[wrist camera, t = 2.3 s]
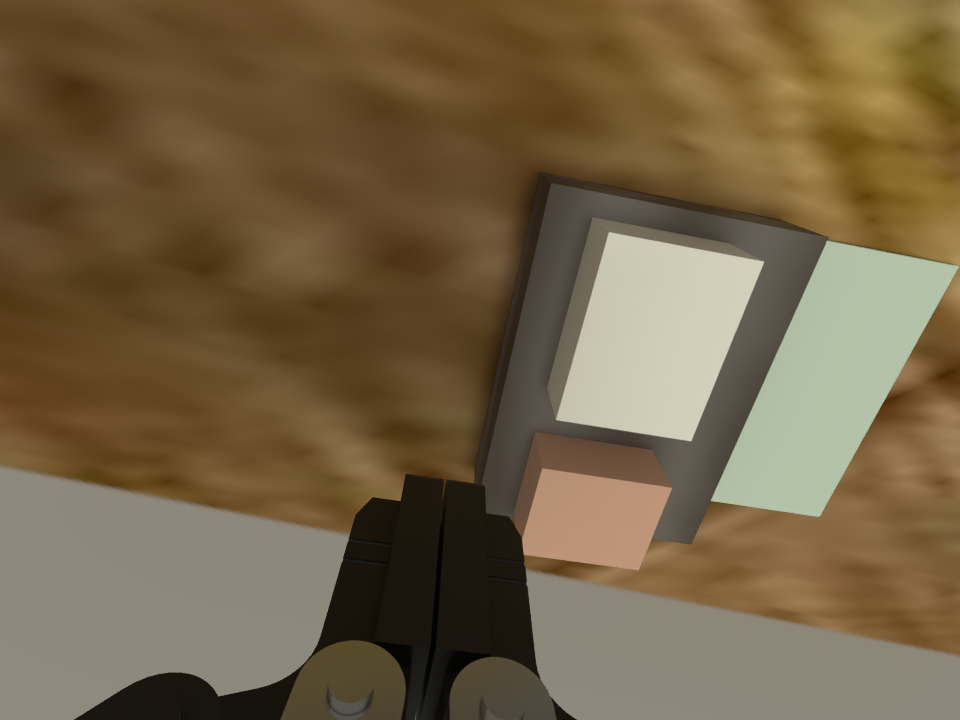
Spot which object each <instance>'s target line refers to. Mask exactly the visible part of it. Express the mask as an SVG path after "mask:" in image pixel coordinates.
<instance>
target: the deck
mask: <svg viewBox="0 0 960 720" xmlns="http://www.w3.org/2000/svg"><path fill="white" fill-rule="evenodd" d="M593 217H594V218H599V219H604V220H610V221H615V222H620V223H625V224H631V225H636V226H641V227H646V228H651V229H657V230H662V231H667V232H672V233H677V234H683V235H688V236H693V237H698V238H704V239H709V240H714V241H719V242H724V243H730V244H732V245H734V246H736V247H737V248H739V249H741V250H743V251H745V252H747V253H749V254H751V255H753V256H755V257H756V258H758V259H760V260H762V261H764V264H763V266H762V269H761V271H760V274H759V276H758V279H757V281H756V283H755V286H754V288H753V291H752V293H751V296H750V298H749V301H748V303H747V306H746V308H745V310H744V313H743V315H742V318H741V320H740V323H739V325H738V328H737V330H736V333H735V335H734V337H733V340H732V342H731V345H730V347H729V350H728V352H727V355H726V357H725V360H724V362H723V364H722V367H721V369H720V372H719V374H718V377H717V379H716V382H715V384H714V387H713V389H712V391H711V394H710V396H709V399H708V401H707V404H706V406H705V409H704V411H703V414H702V416H701V418H700V421H699V423H698V426H697V428H696V431H695V433H694V436H693V438H692V441H686V440H679V439H673V438H667V437H660V436H654V435H648V434H641V433H635V432H629V431H622V430H616V429H610V428H603V427H597V426H591V425H584V424H578V423H571V422H565V421H559V420H556V418H555V415H554V411H553V407H552V403H551V400H550V396H549V392H548V388H547V386H548V382H549V379H550V375H551V371H552V367H553V364H554V360H555V356H556V352H557V349H558V345H559V341H560V337H561V334H562V330H563V326H564V322H565V319H566V315H567V311H568V307H569V304H570V300H571V296H572V292H573V289H574V285H575V281H576V278H577V274H578V270H579V266H580V263H581V259H582V255H583V251H584V248H585V244H586V240H587V236H588V233H589V229H590V225H591V221H592V218H593ZM828 238H829V237H826V236H823V235H821V234H818V233H815V232H812V231H810V230H807V229H804V228H801V227H799V226H796V225H793V224H790V223H788V222H785V221H782V220H779V219H774V218H769V217H763V216H758V215H753V214H748V213H743V212H738V211H733V210H728V209H723V208H718V207H713V206H708V205H703V204H698V203H693V202H687V201H682V200H677V199H672V198H667V197H662V196H657V195H652V194H647V193H642V192H637V191H632V190H627V189H622V188H617V187H612V186H606V185H601V184H596V183H591V182H586V181H581V180H576V179H571V178H566V177H561V176H556V175H551V174H546V173H541V172H540V175H539V180H538V184H537V189H536V193H535V198H534V202H533V207H532V211H531V216H530V220H529V225H528V229H527V234H526V238H525V243H524V247H523V252H522V256H521V261H520V265H519V270H518V275H517V279H516V284H515V288H514V293H513V297H512V302H511V306H510V311H509V315H508V320H507V324H506V329H505V333H504V338H503V342H502V347H501V351H500V356H499V360H498V365H497V369H496V374H495V379H494V383H493V388H492V392H491V397H490V401H489V406H488V410H487V415H486V419H485V424H484V428H483V433H482V437H481V442H480V446H479V451H478V455H477V460H476V464H475V484H481V485H484V486H485V496H486V513H488V514H495V515H502V516H509V518H510V519H513V520H515V518H514V510H515V506H516V502H517V498H518V495H519V491H520V487H521V483H522V480H523V476H524V472H525V468H526V465H527V461H528V457H529V453H530V450H531V446H532V442H533V438H534V435H535V432H539V433H545V434H552V435H558V436H565V437H571V438H578V439H584V440H590V441H597V442H603V443H610V444H616V445H623V446H629V447H636V448H642V449H648V450H653V452H654V454H655V456H656V458H657V460H658V462H659V464H660V465H661V467H662V469H663V471H664V473H665V475H666V477H667V479H668V481H669V483H670V484H671V486H672V490H671V492H670V495H669V497H668V500H667V502H666V504H665V507H664V509H663V512H662V514H661V517H660V519H659V522H658V524H657V527H656V529H655V531H654V534H653V536H652V539H655V540H662V541H670V542H677V543H684V544H692V542H693V539H694V537H695V535H696V533H697V530H698V528H699V526H700V524H701V521H702V519H703V517H704V515H705V513H706V510H707V508H708V506H709V504H710V501H711V499H712V497H713V495H714V492H715V490H716V488H717V486H718V484H719V481H720V479H721V477H722V475H723V472H724V470H725V468H726V466H727V463H728V461H729V459H730V457H731V455H732V452H733V450H734V448H735V446H736V443H737V441H738V439H739V437H740V434H741V432H742V430H743V428H744V425H745V423H746V421H747V419H748V417H749V414H750V412H751V410H752V408H753V405H754V403H755V401H756V399H757V396H758V394H759V392H760V390H761V388H762V385H763V383H764V381H765V379H766V376H767V374H768V372H769V370H770V367H771V365H772V363H773V361H774V359H775V356H776V354H777V352H778V350H779V347H780V345H781V343H782V341H783V338H784V336H785V334H786V332H787V330H788V327H789V325H790V323H791V321H792V318H793V316H794V314H795V312H796V309H797V307H798V305H799V303H800V300H801V298H802V296H803V294H804V292H805V289H806V287H807V285H808V283H809V280H810V278H811V276H812V274H813V271H814V269H815V267H816V265H817V263H818V260H819V258H820V256H821V254H822V251H823V249H824V247H825V245H826V242H827V240H828Z"/></svg>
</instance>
